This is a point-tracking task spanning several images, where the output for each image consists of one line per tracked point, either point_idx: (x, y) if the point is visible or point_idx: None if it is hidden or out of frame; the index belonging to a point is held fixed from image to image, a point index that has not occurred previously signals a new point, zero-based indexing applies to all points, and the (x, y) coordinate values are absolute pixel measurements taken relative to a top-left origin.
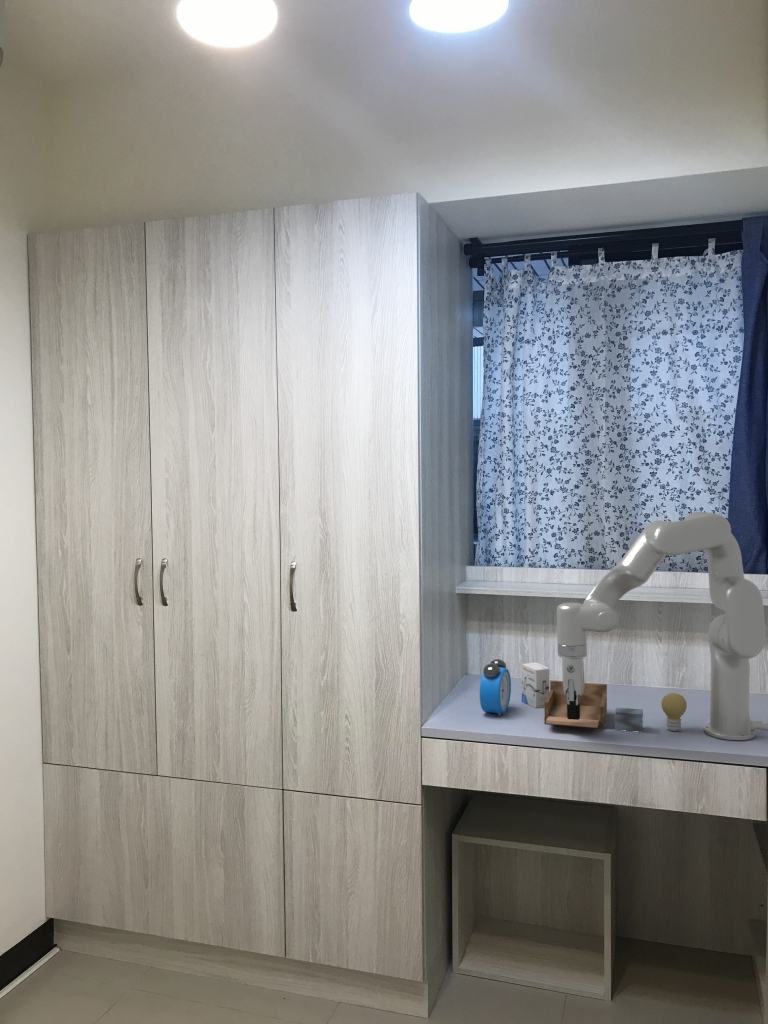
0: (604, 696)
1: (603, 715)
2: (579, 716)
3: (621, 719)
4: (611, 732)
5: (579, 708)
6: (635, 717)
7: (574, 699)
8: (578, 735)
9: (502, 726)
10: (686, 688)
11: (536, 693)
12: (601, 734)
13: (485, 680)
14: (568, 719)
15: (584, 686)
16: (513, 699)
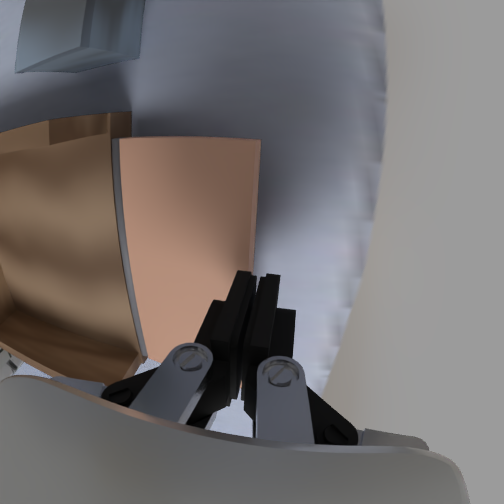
0: None
1: (86, 118)
2: (278, 284)
3: (108, 20)
4: (176, 69)
5: (261, 320)
6: None
7: (357, 440)
8: (266, 231)
9: (226, 432)
10: None
11: (18, 364)
12: (221, 115)
13: None
14: (171, 298)
15: (54, 413)
16: (28, 365)
